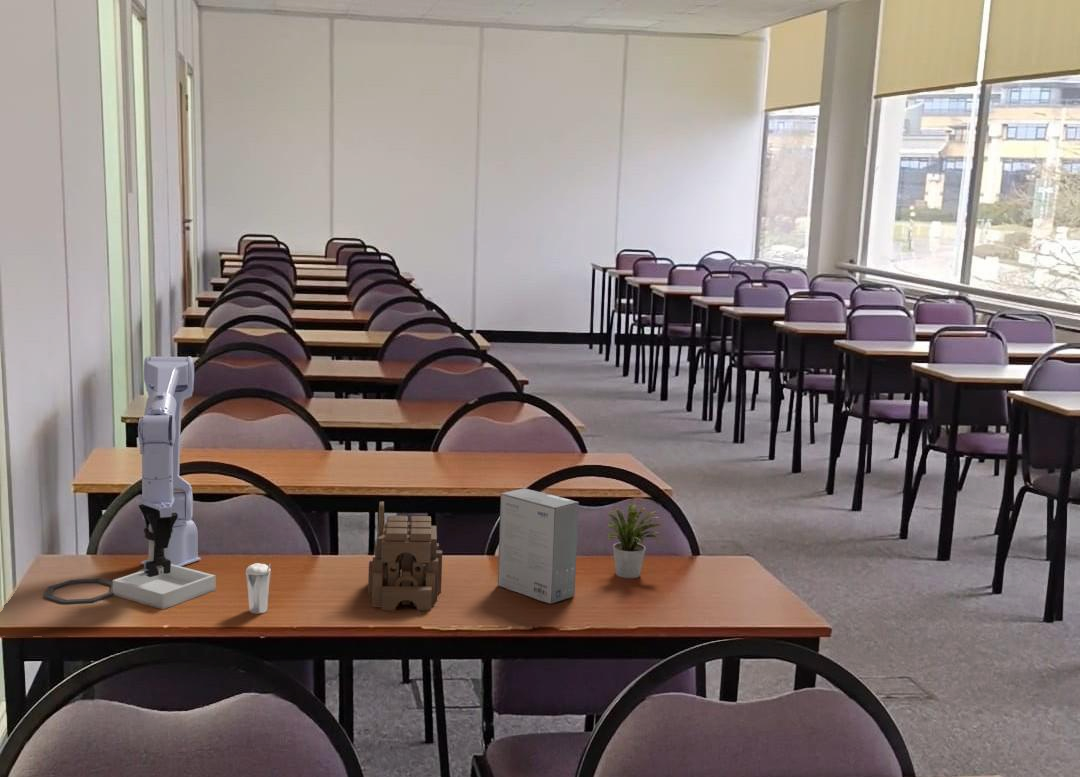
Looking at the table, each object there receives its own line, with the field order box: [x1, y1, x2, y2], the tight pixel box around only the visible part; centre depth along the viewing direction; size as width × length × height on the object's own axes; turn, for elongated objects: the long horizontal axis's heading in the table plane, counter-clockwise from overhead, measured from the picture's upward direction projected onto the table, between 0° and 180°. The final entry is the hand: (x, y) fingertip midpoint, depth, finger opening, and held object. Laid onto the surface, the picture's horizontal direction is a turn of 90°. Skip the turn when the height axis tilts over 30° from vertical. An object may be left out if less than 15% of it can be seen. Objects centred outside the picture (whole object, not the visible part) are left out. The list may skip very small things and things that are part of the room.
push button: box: [138, 524, 173, 577], centre depth 223 cm, size 7×5×10 cm
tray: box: [112, 564, 217, 610], centre depth 225 cm, size 14×14×3 cm
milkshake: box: [245, 562, 272, 615], centre depth 216 cm, size 4×5×10 cm
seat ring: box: [43, 577, 115, 605], centre depth 223 cm, size 13×13×1 cm
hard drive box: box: [497, 488, 580, 605], centre depth 233 cm, size 16×8×20 cm, turn 47°
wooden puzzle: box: [367, 501, 443, 611], centre depth 230 cm, size 22×15×19 cm, turn 6°
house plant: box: [605, 500, 666, 579], centre depth 245 cm, size 14×14×16 cm
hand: (158, 543), depth 223 cm, fingers closed on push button, 5 cm apart
